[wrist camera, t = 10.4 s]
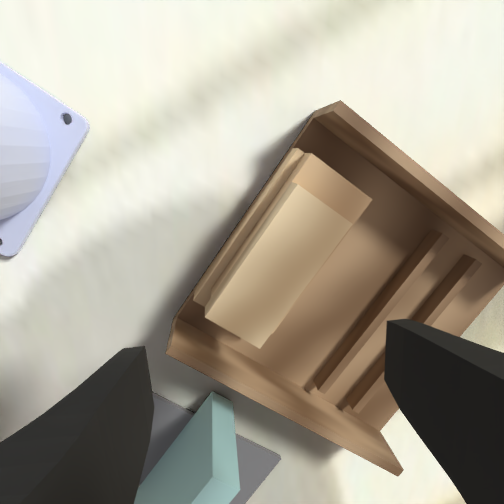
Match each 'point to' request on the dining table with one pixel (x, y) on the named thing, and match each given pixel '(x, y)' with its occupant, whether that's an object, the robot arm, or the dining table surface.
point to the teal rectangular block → (197, 461)
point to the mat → (248, 453)
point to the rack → (336, 281)
